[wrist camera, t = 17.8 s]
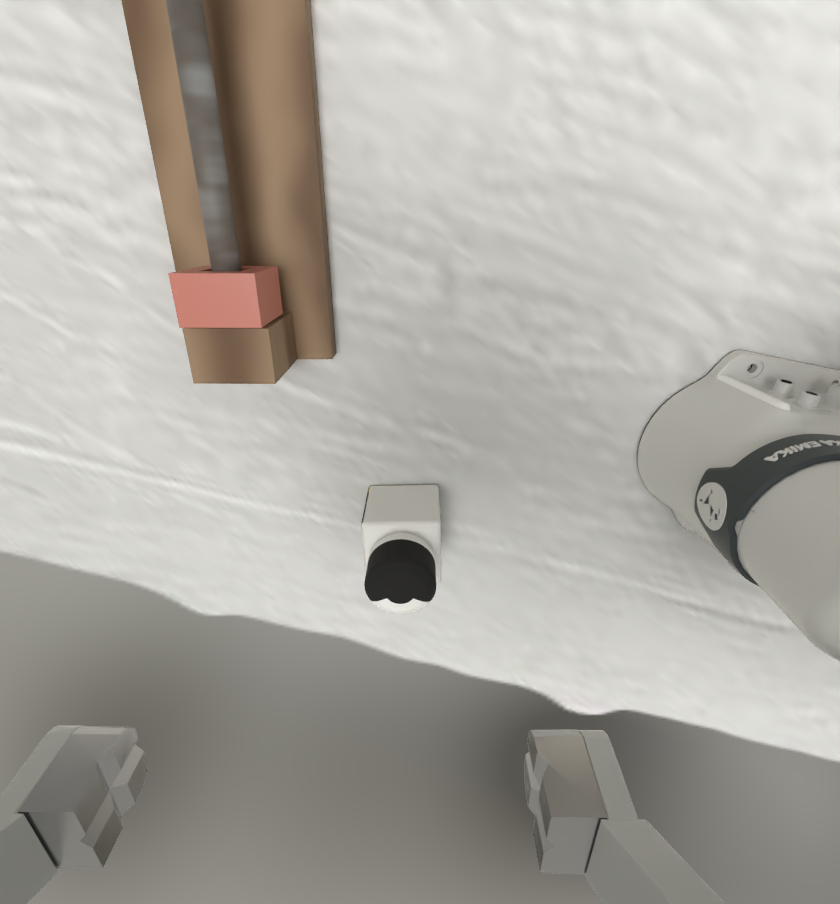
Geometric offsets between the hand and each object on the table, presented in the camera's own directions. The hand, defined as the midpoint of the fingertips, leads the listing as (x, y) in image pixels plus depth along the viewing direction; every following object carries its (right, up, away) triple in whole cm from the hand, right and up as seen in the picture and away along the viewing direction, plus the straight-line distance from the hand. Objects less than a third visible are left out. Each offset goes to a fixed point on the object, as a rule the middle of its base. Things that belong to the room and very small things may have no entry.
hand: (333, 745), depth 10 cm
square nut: (-12, +19, +27) cm, 35 cm away
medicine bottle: (0, 0, +41) cm, 41 cm away
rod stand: (-12, +29, +27) cm, 41 cm away
